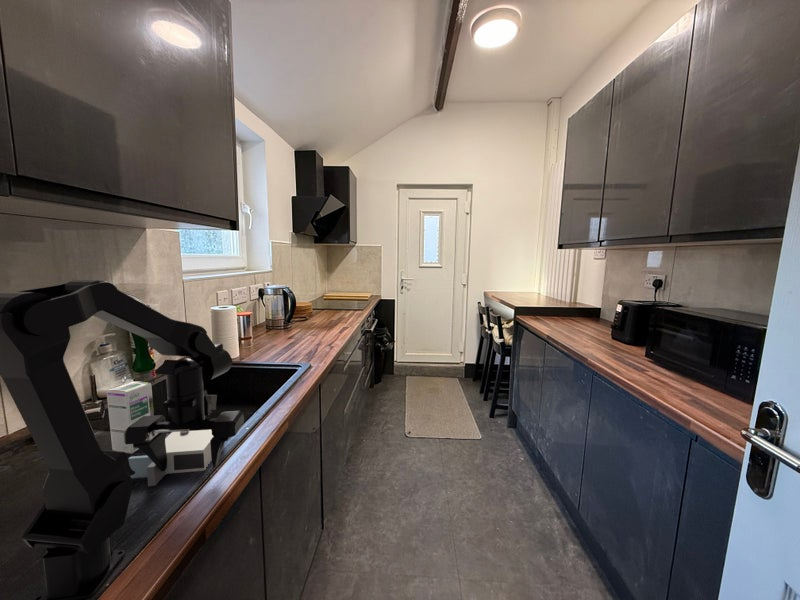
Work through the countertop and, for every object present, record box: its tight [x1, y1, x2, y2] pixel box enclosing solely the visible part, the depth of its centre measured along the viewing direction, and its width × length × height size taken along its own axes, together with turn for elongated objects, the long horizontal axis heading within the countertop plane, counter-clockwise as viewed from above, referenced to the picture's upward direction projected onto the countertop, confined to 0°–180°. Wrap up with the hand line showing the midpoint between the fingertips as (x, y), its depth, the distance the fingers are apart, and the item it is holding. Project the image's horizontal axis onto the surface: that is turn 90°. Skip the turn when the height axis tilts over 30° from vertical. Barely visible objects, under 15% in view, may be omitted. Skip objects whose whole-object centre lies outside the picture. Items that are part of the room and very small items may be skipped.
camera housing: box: [165, 430, 225, 475], centre depth 69 cm, size 10×11×5 cm
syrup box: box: [106, 381, 155, 455], centre depth 73 cm, size 6×6×14 cm
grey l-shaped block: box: [128, 454, 168, 487], centre depth 61 cm, size 4×6×4 cm, turn 99°
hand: (190, 468), depth 61 cm, fingers open, 9 cm apart
